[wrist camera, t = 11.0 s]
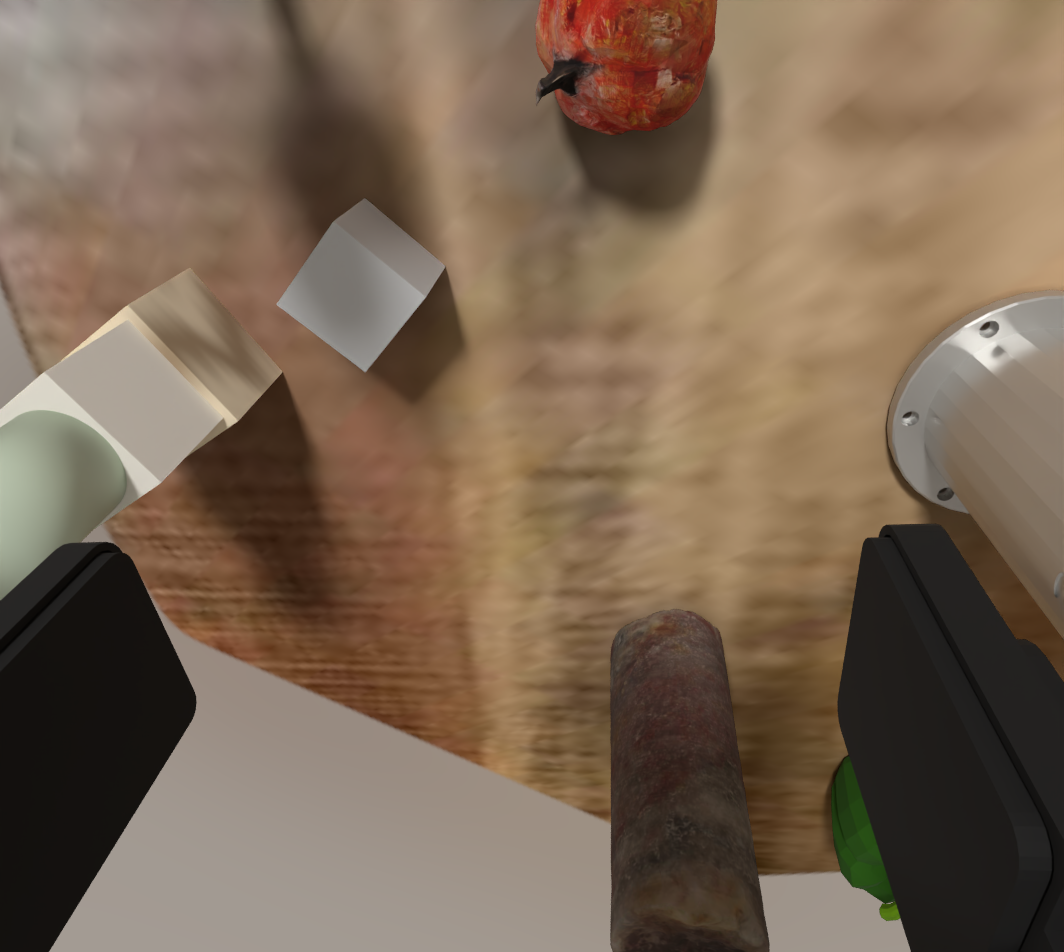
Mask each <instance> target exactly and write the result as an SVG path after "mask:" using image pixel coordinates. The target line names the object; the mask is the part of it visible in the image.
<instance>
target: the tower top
mask: <svg viewBox="0 0 1064 952" xmlns="http://www.w3.org/2000/svg"><path fill="white" fill-rule="evenodd" d="M34 410H49V411H56V412H60V413H63V414H66V415H69V416H72V417H74V418H76V419H78V420H80V421H82V422H84V423H85V424H87V425H89V426H90V427H92V428H93V429H94V430H96V431H97V432H98V433H99V434H100V435H102V436H103V437H104V438H105V439H106V440H107V441H108V442H109V443H110V445H111V446H112V447H113V448H114V450H115V451H116V453H117V454H118V456H119V458H120V460H121V462H122V464H123V466H124V469H125V473H126V478H127V486H126V492H125V495H124V497H123V499H122V501H121V502H120V503H119V504H118V506H117V507H116V508H115V509H114V510H113V511H112V512H111V513H110V514H109V515H108V516H107V517H106V518H105V519H104V520H103V521H102V522H101V523H100V524H99V525H101V524H102V523H104V522H105V521H107V520H108V519H110V518H111V517H112V516H114V515H115V514H117V513H118V512H120V511H121V510H123V509H124V508H125V507H127V506H128V505H130V504H131V503H133V502H134V501H136V500H137V499H138V498H140V497H141V496H143V495H144V494H146V493H147V492H148V491H150V490H151V489H153V488H154V487H156V486H157V485H159V484H160V483H161V482H162V481H163V480H164V479H165V478H166V477H167V476H168V475H169V474H170V473H171V472H172V471H173V470H174V469H175V468H176V467H177V466H178V465H179V464H180V463H181V462H182V460H183V459H184V458H185V457H186V456H187V455H188V454H189V453H190V452H191V451H192V450H193V449H194V448H195V447H196V446H197V445H198V444H199V443H200V442H201V441H202V440H203V439H204V438H205V436H206V435H207V434H208V433H209V432H210V431H211V430H212V429H213V428H214V427H215V426H216V425H217V424H218V423H219V422H220V421H221V420H222V419H223V417H222V416H221V415H220V414H219V412H218V411H217V410H216V409H215V408H214V407H213V406H212V405H211V404H210V403H209V402H208V401H207V400H206V399H205V398H204V397H203V396H202V395H201V394H200V393H199V392H198V391H197V390H196V389H195V388H194V387H193V386H192V385H191V384H190V383H189V382H188V381H187V379H186V378H185V377H184V376H183V375H182V374H181V373H180V372H179V371H178V370H177V369H176V368H175V367H174V366H173V365H172V364H171V363H170V362H169V361H168V360H167V359H166V358H165V357H164V356H163V355H162V354H161V353H160V352H159V351H158V350H157V349H156V348H155V346H154V345H153V344H152V343H151V342H150V341H149V340H148V339H147V338H146V337H145V336H144V335H143V334H142V333H141V332H140V331H139V330H138V329H137V328H136V327H135V326H134V325H133V324H132V323H131V322H130V321H129V320H126V321H125V322H123V323H122V324H120V325H118V326H117V327H115V328H114V329H112V330H110V331H109V332H107V333H106V334H104V335H102V336H101V337H99V338H98V339H96V340H94V341H93V342H91V343H90V344H88V345H86V346H85V347H83V348H82V349H80V350H79V351H77V352H75V353H74V354H72V355H71V356H69V357H67V358H66V359H64V360H63V361H61V362H59V363H58V364H56V365H55V366H53V367H51V368H50V369H48V370H47V371H45V372H44V373H42V374H41V375H40V376H39V377H38V378H37V379H35V380H34V381H33V382H32V383H31V384H30V385H28V386H27V387H26V388H25V389H24V390H23V391H22V392H20V393H19V394H18V395H17V396H16V397H14V398H13V399H12V400H11V401H10V402H9V403H7V404H6V405H5V406H4V407H3V408H2V409H0V427H2V426H3V425H5V424H6V423H8V422H9V421H11V420H12V419H14V418H15V417H17V416H18V415H20V414H22V413H25V412H28V411H34ZM99 525H98V526H99ZM98 526H97V527H98ZM97 527H96V528H97Z"/></svg>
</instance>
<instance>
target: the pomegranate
mask: <svg viewBox="0 0 1064 952" xmlns="http://www.w3.org/2000/svg"><path fill="white" fill-rule="evenodd" d="M716 9H717V0H540V4H539V9H538V16H537V21H536V25H535V29H536V46H537V51H538V55H539V57H540V59H541V61H542V62H543V64H544V66H545V68H546V69H547V71H548V73H549V74H548V75H547V76H546V77H545V78H542V79H541V80H540V81H539V83H538V86H537V89H536V106H537V104H538V102H539V101H540V99H541V98H542V97H543V96H545V95H546V94H548V93H550V92H552V91H555V95H556V99H557V101H558V103H559V106H560V108H561V110H562V111H563V112H564V113H565V115H566V116H567V117H569V118H570V119H572V120H573V121H574V122H576V123H577V124H579V125H580V126H584V127H586V128H589V129H593V130H596V131H599V132H602V133H605V134H609V135H617V134H622V133H624V132H626V131H629V130H644V131H651V130H654V129H657V128H660V127H665V126H667V125H669V124H671V123H672V122H674V121H676V120H678V119H679V118H681V117H682V116H683V115H684V114H685V113H687V112H688V110H689V109H690V108H691V106H692V105H693V103H694V102H695V101H696V100H697V98H698V97H699V95H700V93H701V90H702V86H703V83H704V79H705V74H706V69H707V65H708V60H709V57H710V55H711V53H712V50H713V46H714V41H715V19H716Z"/></svg>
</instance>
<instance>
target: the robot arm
mask: <svg viewBox="0 0 1064 952" xmlns="http://www.w3.org/2000/svg"><path fill="white" fill-rule="evenodd" d="M984 323H985V325H984V326H982V325H983V324H984ZM981 326H982V327H981ZM907 412H908V413H907ZM887 434H888V445H889V448H890V451H891V454H892V457H893V460H894V462H895V464H896V465H897V467H898V468H899V470H900V472H901V473H902V475H903V477H904V478H905V479H906V480H907V481H908V483H909V484H910V485H911V486H912V487H913V488H914V490H915V491H917V492H918V493H919V494H921V495H922V496H924V497H925V498H926V499H928V500H929V501H930V502H933V503H935V504H937V505H940V506H942V507H944V508H946V509H949V510H953V511H958V512H962V513H966V514H970V515H971V516H972V517H973V519H974V520H975V521H976V523H977V524H978V525H979V527H980V528H981V530H982V531H983V532H984V534H985V535H986V536H987V538H988V539H989V540H990V542H991V543H992V544H993V546H994V547H995V548H996V550H997V551H998V552H999V554H1000V555H1001V556H1002V558H1003V559H1004V560H1005V562H1006V563H1007V564H1008V566H1009V567H1010V568H1011V570H1012V571H1013V572H1014V574H1015V575H1016V576H1017V578H1018V579H1019V581H1020V582H1021V583H1022V585H1023V586H1024V587H1025V589H1026V590H1027V591H1028V593H1029V594H1030V595H1031V597H1032V598H1033V599H1034V601H1035V602H1036V603H1037V605H1038V606H1039V607H1040V609H1041V610H1042V611H1043V613H1044V614H1045V615H1046V617H1047V618H1048V619H1049V621H1050V622H1051V623H1052V625H1053V626H1054V627H1055V629H1056V630H1057V631H1058V633H1059V634H1060V636H1061V637H1062V638H1063V640H1064V291H1062V290H1045V291H1037V292H1030V293H1022V294H1019V295H1015V296H1012V297H1009V298H1005V299H1002V300H998V301H995V302H993V303H991V304H989V305H986V306H984V307H982V308H980V309H978V310H975V311H973V312H971V313H969V314H968V315H966V316H964V317H963V318H961V319H960V320H958V321H957V322H955V323H954V324H952V325H950V326H949V327H947V328H946V329H945V330H944V331H942V332H941V333H940V334H939V335H938V336H937V337H936V338H934V339H933V340H932V341H931V342H930V343H929V344H928V345H926V346H925V348H924V349H923V350H922V351H921V352H920V354H919V355H918V356H917V357H916V358H915V359H914V361H913V362H912V363H911V364H910V365H909V367H908V369H907V370H906V372H905V374H904V375H903V377H902V379H901V380H900V382H899V384H898V386H897V388H896V391H895V394H894V396H893V399H892V402H891V404H890V408H889V415H888V422H887ZM195 710H196V695H195V692H194V690H193V687H192V685H191V683H190V681H189V679H188V677H187V675H186V673H185V670H184V668H183V666H182V664H181V662H180V660H179V658H178V656H177V653H176V651H175V649H174V647H173V645H172V643H171V641H170V639H169V637H168V635H167V632H166V630H165V628H164V626H163V624H162V622H161V619H160V618H159V615H158V613H157V611H156V609H155V607H154V605H153V603H152V600H151V598H150V596H149V594H148V592H147V590H146V588H145V586H144V583H143V581H142V579H141V577H140V575H139V573H138V571H137V569H136V567H135V564H134V562H133V561H132V559H131V558H130V557H129V556H128V555H127V554H125V553H122V551H121V550H120V548H119V547H117V546H116V545H115V544H113V543H108V542H91V543H89V542H88V543H68V544H63V545H62V546H60V547H59V548H57V549H56V550H55V551H54V552H52V553H51V554H50V555H49V556H48V557H47V558H46V559H45V560H44V561H43V562H42V563H41V564H39V565H38V566H37V567H36V568H35V569H34V570H33V571H32V572H31V573H30V574H29V575H28V576H26V577H25V578H24V579H23V580H22V581H21V582H20V583H19V584H18V585H17V586H16V587H14V588H13V589H12V590H11V591H10V592H9V593H8V594H7V595H6V596H5V597H4V598H3V599H1V600H0V952H49V951H50V949H51V947H52V946H53V944H54V943H55V941H56V939H57V938H58V936H59V935H60V933H61V931H62V930H63V928H64V926H65V925H66V923H67V922H68V920H69V918H70V917H71V915H72V914H73V912H74V910H75V909H76V907H77V905H78V904H79V902H80V901H81V899H82V897H83V896H84V894H85V892H86V891H87V889H88V888H89V886H90V884H91V882H92V881H93V880H94V878H95V876H96V875H97V873H98V871H99V870H100V868H101V867H102V865H103V863H104V862H105V860H106V858H107V857H108V855H109V854H110V852H111V850H112V849H113V847H114V846H115V844H116V842H117V841H118V839H119V838H120V836H121V834H122V833H123V831H124V829H125V828H126V826H127V825H128V823H129V821H130V820H131V818H132V816H133V815H134V813H135V812H136V810H137V808H138V807H139V805H140V804H141V802H142V800H143V799H144V797H145V795H146V794H147V792H148V791H149V789H150V787H151V786H152V784H153V782H154V781H155V779H156V778H157V776H158V774H159V773H160V771H161V770H162V768H163V766H164V765H165V763H166V762H167V760H168V758H169V757H170V755H171V753H172V752H173V750H174V749H175V747H176V745H177V744H178V742H179V741H180V739H181V737H182V736H183V734H184V732H185V731H186V729H187V728H188V726H189V724H190V723H191V721H192V719H193V717H194V713H195ZM838 718H839V724H840V728H841V732H842V735H843V738H844V741H845V744H846V748H847V751H848V754H849V757H850V760H851V763H852V767H853V770H854V773H855V776H856V779H857V782H858V785H859V789H860V792H861V795H862V798H863V801H864V804H865V808H866V811H867V814H868V817H869V820H870V823H871V827H872V830H873V833H874V836H875V839H876V842H877V845H878V849H879V852H880V855H881V858H882V861H883V864H884V868H885V871H886V874H887V877H888V880H889V883H890V886H891V890H892V893H893V896H894V899H895V902H896V905H897V909H898V912H899V915H900V918H901V921H902V924H903V928H904V930H905V934H906V937H907V940H908V943H909V946H910V950H911V952H1064V682H1063V681H1062V679H1061V678H1060V676H1059V675H1058V673H1057V672H1056V670H1055V669H1054V667H1053V666H1052V664H1051V663H1050V662H1049V660H1048V659H1047V657H1046V656H1045V655H1044V654H1043V652H1042V651H1041V650H1040V649H1039V648H1038V647H1037V646H1036V645H1035V644H1033V643H1031V642H1030V641H1028V640H1026V639H1017V640H1016V638H1015V637H1014V635H1013V634H1012V632H1011V631H1010V629H1009V628H1008V626H1007V624H1006V623H1005V621H1004V620H1003V618H1002V617H1001V615H1000V614H999V612H998V611H997V609H996V608H995V606H994V604H993V603H992V601H991V600H990V598H989V597H988V595H987V594H986V592H985V591H984V589H983V588H982V586H981V585H980V583H979V581H978V580H977V578H976V577H975V575H974V574H973V572H972V571H971V569H970V568H969V566H968V565H967V563H966V561H965V560H964V558H963V557H962V555H961V554H960V552H959V551H958V549H957V548H956V546H955V545H954V543H953V542H952V540H951V538H950V537H949V535H948V534H947V532H946V531H945V530H944V529H943V527H942V526H941V525H938V524H901V525H885V526H884V527H883V528H882V529H881V531H880V534H879V537H878V538H867V539H865V541H864V543H863V547H862V552H861V558H860V564H859V571H858V577H857V583H856V589H855V595H854V601H853V608H852V614H851V620H850V626H849V632H848V638H847V645H846V651H845V657H844V663H843V669H842V676H841V682H840V688H839V694H838Z"/></svg>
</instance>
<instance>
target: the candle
mask: <svg viewBox="0 0 1064 952" xmlns="http://www.w3.org/2000/svg"><path fill="white" fill-rule="evenodd" d="M610 675H611V689H610V692H611V701H610V709H611V739H610V740H611V874H612V875H611V879H612V893H611V933H610V938H611V939H610V940H611V948H612V951H613V952H769V938H768V932H767V927H766V921H765V917H764V910H763V902H762V896H761V890H760V884H759V878H758V871H757V865H756V859H755V852H754V846H753V838H752V832H751V826H750V821H749V815H748V809H747V802H746V795H745V788H744V784H743V777H742V770H741V764H740V758H739V752H738V746H737V737H736V730H735V724H734V717H733V710H732V704H731V697H730V690H729V683H728V676H727V670H726V664H725V658H724V651H723V646H722V639H721V636H720V632H719V631H718V629H717V628H716V627H714V626H712V625H711V624H710V623H709V622H707V621H706V620H705V619H703V618H702V617H701V616H699V615H697V614H696V613H694V612H690V611H683V610H679V609H673V610H670V611H660V612H656V613H654V614H652V615H650V616H648V617H646V618H642V619H639V620H636V621H634V622H632V623H630V624H628V625H626V626H624V627H623V628H622V629H620V630H619V631H618V633H617V634H616V636H615V639H614V640H613V644H612V648H611V672H610Z"/></svg>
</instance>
